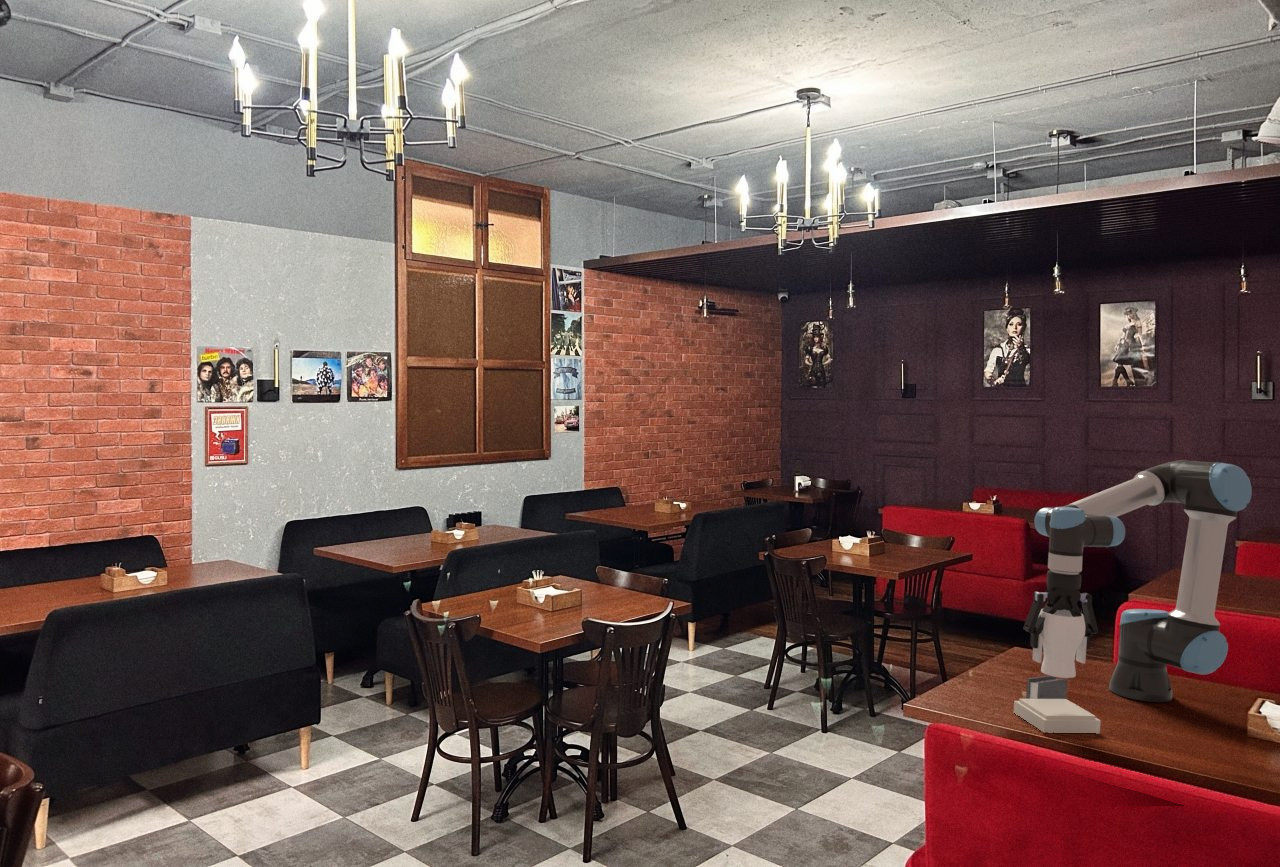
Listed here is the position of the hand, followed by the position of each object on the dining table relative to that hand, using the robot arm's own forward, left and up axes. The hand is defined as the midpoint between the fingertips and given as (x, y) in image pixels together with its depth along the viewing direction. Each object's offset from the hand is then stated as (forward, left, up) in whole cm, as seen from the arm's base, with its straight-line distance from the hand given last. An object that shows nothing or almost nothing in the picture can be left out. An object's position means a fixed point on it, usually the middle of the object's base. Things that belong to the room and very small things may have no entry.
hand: (1058, 661), depth 225 cm
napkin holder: (-5, -13, -15) cm, 21 cm away
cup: (0, 0, -3) cm, 3 cm away
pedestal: (0, 0, -15) cm, 15 cm away
